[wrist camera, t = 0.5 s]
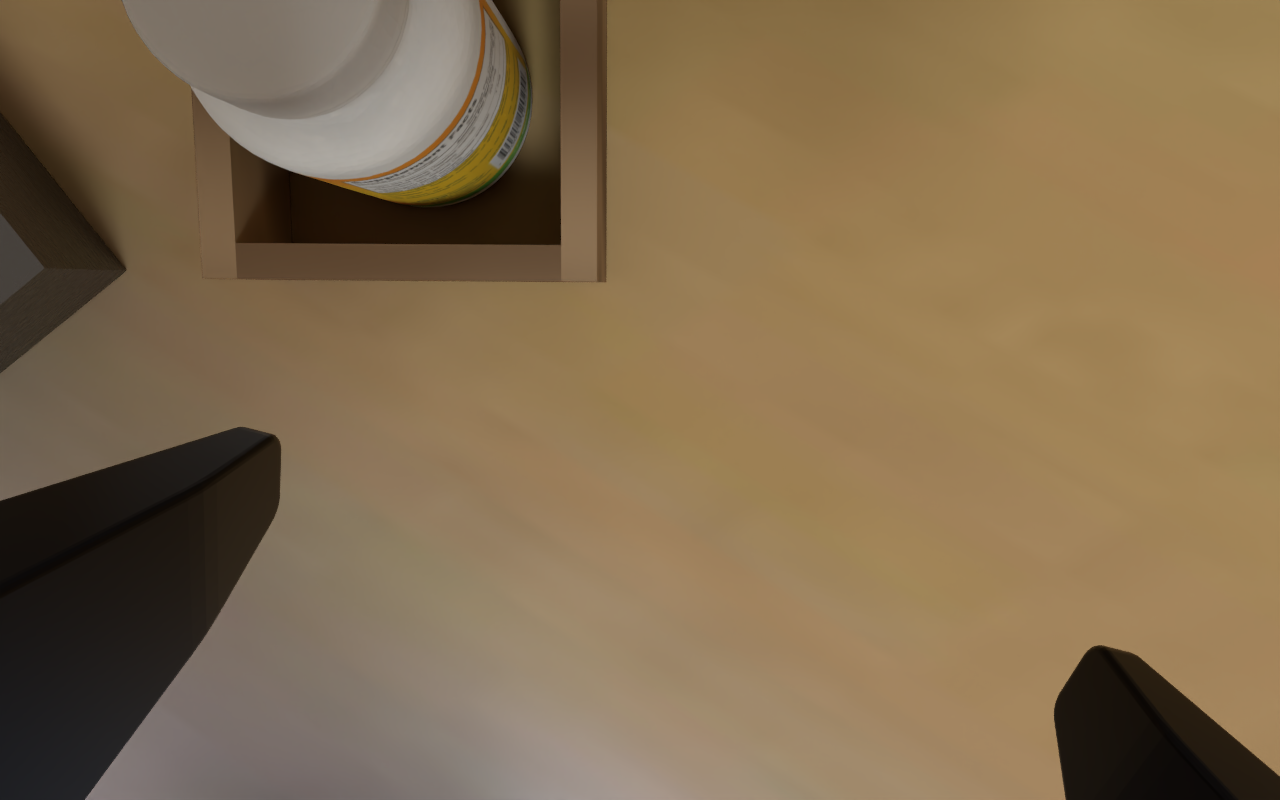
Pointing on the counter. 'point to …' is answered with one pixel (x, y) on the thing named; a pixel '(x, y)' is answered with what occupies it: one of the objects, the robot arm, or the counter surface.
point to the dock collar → (42, 252)
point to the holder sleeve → (262, 244)
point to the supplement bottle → (355, 87)
